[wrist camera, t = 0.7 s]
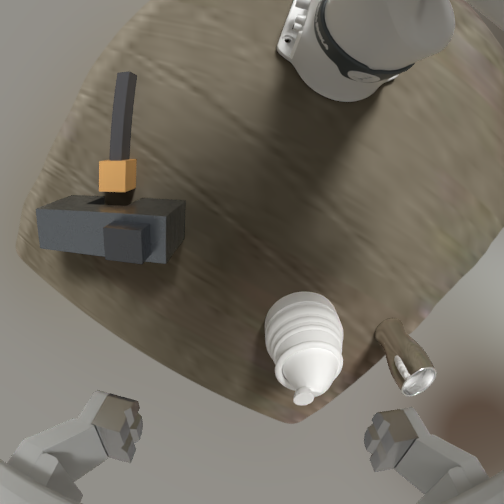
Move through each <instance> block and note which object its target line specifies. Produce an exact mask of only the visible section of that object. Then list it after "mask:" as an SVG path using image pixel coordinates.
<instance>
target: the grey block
mask: <svg viewBox="0 0 504 504" xmlns="http://www.w3.org/2000/svg"><path fill="white" fill-rule="evenodd" d="M185 204H186V201H184V200H169V199H153V198H141V199H140V200H138V201H136V202H134V203H132V204H130V205H128V206H117V205H105V198H104V196H79V195H71V196H69V197H66V198H63V199H60V200H58V201H55V202H52V203H50V204H47V205H45V206H42V207H40V208H37V209H36V215H37V225H38V234H39V242H40V248H43V249H50V250H57V251H65V252H72V253H80V254H88V255H96V256H104V257H105V260H113V261H121V262H129V263H137V264H143V263H144V262H154V263H163V264H166V263H167V262H168V260H169V259H170V258H171V256H172V255H173V253H174V252H175V251H176V249H177V248H178V247H179V245H180V244H181V243H182V241H183V240H184V232H185Z"/></svg>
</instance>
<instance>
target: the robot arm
mask: <svg viewBox="0 0 504 504" xmlns="http://www.w3.org/2000/svg"><path fill="white" fill-rule="evenodd" d="M464 1H466V2H467V3H468V4H470V5H471V6H473V7H474V8H476V9H477V10H478V11H479V12H481V13H482V14H483V15H485V16H486V17H487V18H488V19H489V20H491V21H492V22H493V23H494V24H496V25H497V26H498V27H499V28H500V29H501V30H502V31H503V32H504V0H464ZM454 29H455V17H454V12H453V9H452V6H451V3H450V1H449V0H293V3H292V6H291V8H290V11H289V14H288V16H287V19H286V22H285V24H284V27H283V30H282V33H281V35H280V38H279V41H278V44H277V51H278V53H279V54H280V55H281V56H283V57H284V58H285V59H287V60H288V61H289V62H291V63H292V64H293V66H294V67H295V69H296V70H297V72H298V74H299V75H300V77H301V78H302V79H303V81H304V82H305V83H306V84H307V85H308V86H309V87H310V88H312V89H313V90H314V91H316V92H317V93H319V94H321V95H322V96H324V97H327V98H329V99H332V100H336V101H342V102H353V101H359V100H362V99H365V98H367V97H368V96H370V95H371V94H373V93H374V92H375V91H376V90H377V89H378V88H379V87H380V86H381V85H382V84H383V83H385V82H388V81H391V80H393V79H394V78H396V77H397V76H398V74H400V73H402V72H405V71H407V70H408V69H409V68H411V67H412V66H413V65H414V64H415V62H417V61H420V60H422V59H424V58H427V57H429V56H432V55H434V54H437V53H439V52H441V51H442V50H443V49H444V48H445V47H446V46H447V45H448V43H449V42H450V40H451V38H452V36H453V33H454ZM285 40H289V41H290V43H286V42H285ZM139 408H140V407H139V403H138V401H136V400H132V399H128V398H125V397H121V396H117V395H114V394H110V393H106V392H103V391H100V390H97V391H95V392H94V393H93V395H92V396H91V398H90V400H89V401H88V402H87V404H86V406H85V407H84V409H83V410H82V412H81V414H80V415H79V417H78V418H77V419H71V420H68V421H66V422H64V423H62V424H59V425H57V426H55V427H52V428H50V429H48V430H45V431H43V432H41V433H38V434H36V435H33V436H31V437H28V438H26V439H23V441H22V442H21V444H20V445H19V446H18V448H17V449H16V451H15V452H14V454H13V455H12V457H11V458H10V460H9V461H8V463H6V462H4V461H3V460H1V459H0V504H82V503H80V502H81V499H82V497H83V495H82V493H81V491H80V490H79V489H78V487H77V486H76V485H75V484H74V481H76V480H77V479H79V478H81V477H82V476H84V475H85V474H86V473H88V472H89V471H91V470H92V469H93V468H95V467H96V466H98V465H100V464H101V463H102V462H104V461H105V460H107V459H108V457H110V458H114V459H117V460H121V461H124V462H128V463H131V461H132V459H133V456H134V453H135V451H136V448H135V445H134V443H136V442H137V441H139V440H140V436H141V434H142V427H143V423H142V417H141V415H140V414H139V413H138V411H139ZM372 421H373V424H372V425H371V426H369V427H368V428H367V430H366V432H365V437H364V444H365V447H366V450H367V451H368V452H370V453H371V454H372V455H371V457H370V461H371V464H372V467H373V469H374V472H378V471H384V470H388V469H393V468H395V470H396V471H397V472H398V473H399V474H400V475H402V476H403V477H404V478H405V479H406V480H407V481H409V482H410V483H411V484H412V485H414V486H415V487H416V488H417V489H419V490H420V491H421V492H422V493H424V494H425V495H424V496H423V497H422V498H421V499H420V500H419V501H418V502H417V503H416V504H504V470H502V471H501V472H499V473H498V474H496V475H495V476H493V477H491V478H489V477H488V475H487V474H486V472H485V470H484V469H483V467H482V465H481V464H480V462H479V461H478V459H477V458H476V457H475V456H473V455H471V454H469V453H467V452H465V451H463V450H462V449H460V448H458V447H456V446H454V445H452V444H450V443H448V442H446V441H445V440H443V439H441V438H439V437H437V436H436V435H434V434H433V435H430V433H429V432H428V430H427V428H426V427H425V425H424V423H423V422H422V420H421V418H420V417H419V415H418V413H417V412H416V410H415V409H414V408H412V407H410V408H404V409H397V410H391V411H384V412H378V413H376V414H375V415H374V417H373V418H372Z"/></svg>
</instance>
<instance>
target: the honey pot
mask: <svg viewBox="0 0 504 504" xmlns="http://www.w3.org/2000/svg"><path fill="white" fill-rule="evenodd" d="M342 341H343V328H342V325H341V322H340V320H339V317H338V315H337V312H336V310H335V308H334V306H333V305H332V303H331V302H330V301H329V300H328V299H327V298H325V297H324V296H322V295H320V294H317V293H314V292H305V291H302V292H296V293H292V294H289V295H287V296H284V297H282V298H281V299H280V300H278V301H277V302H275V304H274V305H273V306H272V307H271V308H270V309H269V311H268V313H267V315H266V319H265V343H266V348H267V351H268V353H269V355H270V357H271V358H272V359H273V361H274V363H275V365H276V366H275V375H276V378H277V379H278V381H279V382H280V383H281V384H282V385H283V386H284V387H286V388H289V389H291V390H295V391H296V392H295V394H294V403H295V404H297V405H307V404H309V403H311V402H312V401H313V400H314V397H316V396H320V395H322V394H323V393H324V392H326V391H327V390H328V388H329V387H330V385H331V384H332V382H333V380H334V379H336V377H337V376H338V375H339V373H340V371H341V369H342V366H343V358H342V355H341V353H342ZM283 375H284V376H283ZM284 377H285V378H286V379H285V378H284Z"/></svg>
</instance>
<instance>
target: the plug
mask: <svg viewBox="0 0 504 504" xmlns="http://www.w3.org/2000/svg"><path fill="white" fill-rule="evenodd" d="M136 80H137V75H135V74H133V73H131V72H121V73H117V80H116V87H115V95H114V104H113V114H112V126H111V140H110V160H104V161H99V191H100V192H127V191H130V190H132V189H135V188H136V160H137V159H129V156H130V138H131V125H132V114H133V104H134V95H135V87H136Z"/></svg>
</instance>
